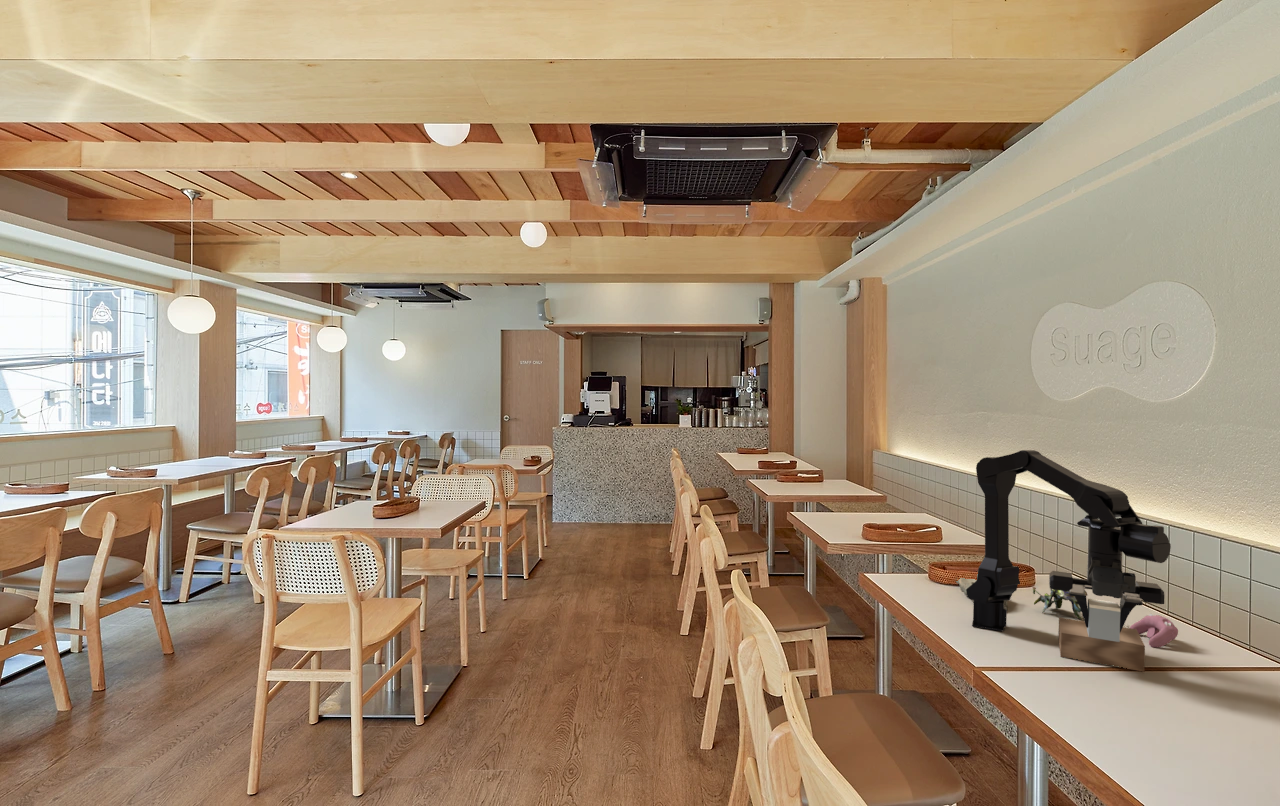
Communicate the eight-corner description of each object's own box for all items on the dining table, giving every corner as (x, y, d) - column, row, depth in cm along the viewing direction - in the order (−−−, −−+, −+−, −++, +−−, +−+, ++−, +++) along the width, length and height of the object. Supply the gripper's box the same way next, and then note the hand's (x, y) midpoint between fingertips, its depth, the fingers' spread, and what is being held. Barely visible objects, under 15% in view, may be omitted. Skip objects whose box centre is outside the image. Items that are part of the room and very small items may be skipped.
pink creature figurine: (1169, 656, 147) (1187, 629, 146) (1148, 645, 147) (1165, 618, 147) (1145, 641, 156) (1161, 615, 156) (1125, 630, 157) (1141, 604, 157)
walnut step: (1060, 656, 140) (1061, 632, 140) (1058, 640, 151) (1058, 617, 151) (1144, 671, 134) (1145, 646, 134) (1135, 652, 144) (1136, 629, 144)
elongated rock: (984, 584, 204) (948, 583, 206) (983, 566, 204) (948, 565, 207) (1017, 612, 170) (973, 610, 173) (1016, 590, 170) (972, 589, 173)
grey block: (1088, 637, 135) (1089, 604, 135) (1086, 630, 139) (1087, 598, 139) (1119, 642, 133) (1120, 608, 133) (1116, 634, 137) (1117, 602, 137)
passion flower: (1077, 640, 167) (1096, 609, 160) (1028, 626, 171) (1045, 596, 164) (1071, 604, 176) (1090, 574, 169) (1025, 592, 179) (1041, 562, 172)
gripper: (1051, 552, 134) (1049, 632, 134) (1170, 566, 124) (1168, 651, 124) (1050, 543, 143) (1048, 617, 143) (1160, 555, 134) (1158, 634, 134)
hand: (1102, 629), depth 136 cm, fingers closed on grey block, 5 cm apart
